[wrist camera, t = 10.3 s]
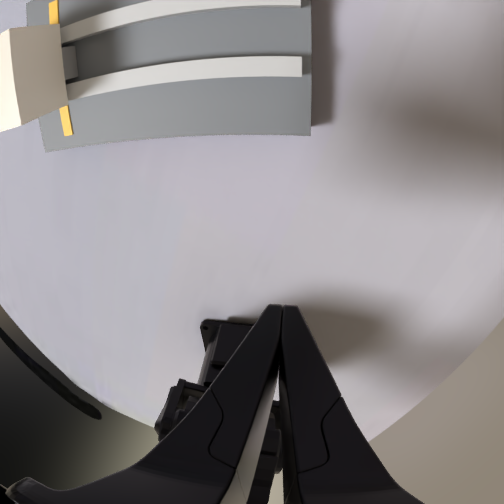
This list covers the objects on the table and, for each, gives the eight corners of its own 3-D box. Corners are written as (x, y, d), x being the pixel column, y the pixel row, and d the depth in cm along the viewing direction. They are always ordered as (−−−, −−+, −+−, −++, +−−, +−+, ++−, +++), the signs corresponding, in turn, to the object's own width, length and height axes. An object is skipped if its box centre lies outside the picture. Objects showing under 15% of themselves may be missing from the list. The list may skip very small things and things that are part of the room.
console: (308, 127, 17) (311, 141, 15) (62, 142, 19) (36, 158, 17) (306, -51, 11) (308, -68, 9) (45, 3, 13) (16, 3, 11)
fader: (81, 99, 15) (21, 125, 11) (46, 108, 16) (-12, 136, 11) (73, 23, 13) (9, 28, 8) (38, 37, 13) (-25, 49, 9)
